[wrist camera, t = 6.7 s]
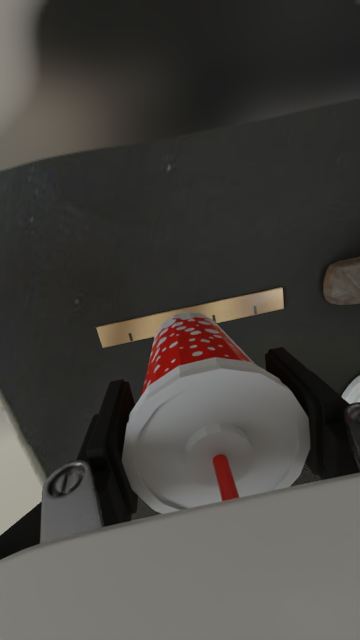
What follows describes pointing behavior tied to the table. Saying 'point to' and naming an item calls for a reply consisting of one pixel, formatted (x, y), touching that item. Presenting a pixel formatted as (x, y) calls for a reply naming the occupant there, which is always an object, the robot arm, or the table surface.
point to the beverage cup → (210, 422)
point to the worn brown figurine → (343, 282)
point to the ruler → (212, 310)
